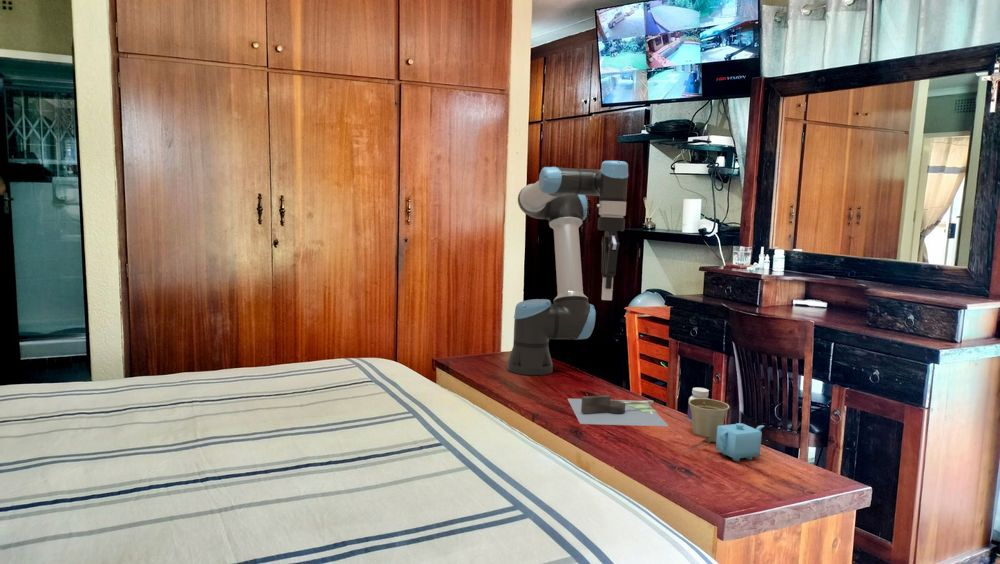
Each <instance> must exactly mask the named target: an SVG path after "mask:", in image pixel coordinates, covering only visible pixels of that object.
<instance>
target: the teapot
mask: <svg viewBox="0 0 1000 564" xmlns="http://www.w3.org/2000/svg"><path fill="white" fill-rule="evenodd" d="M764 427H765V425H763V424H761V425H757V427H756V428H755V427H752V426H749V425H747V424H745V423H743V422H742V423H741V422H738V423H737V422H736V423H734V424H733V423H732V424H723V425H721V426H718V427H717V440H716V442H715V450H717V451H718V452H720V453H721V455H723V456H728V457H730V458H731V459H732V461H733V462H740V460H741V459H744V458H745V459H747V460H750V461H751V460H753V459H754V458H753V457H760V456H761V449H762V448H761V447H762V429H763V428H764Z"/></svg>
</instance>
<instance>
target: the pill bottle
mask: <svg viewBox="0 0 1000 564" xmlns="http://www.w3.org/2000/svg"><path fill="white" fill-rule="evenodd" d="M709 391H710V390H709V389H707V388H704V387H693V388H692V390H691V394H692V395H691V396H689V397H688V401H689V400H691V399H697V398H705V399H710V398H709ZM687 404H688V405H687V418H686V421H687V422H688V423H690V424H692V414H691V409H690V405H689V402H688V403H687Z"/></svg>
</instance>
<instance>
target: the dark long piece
mask: <svg viewBox="0 0 1000 564" xmlns="http://www.w3.org/2000/svg"><path fill="white" fill-rule="evenodd" d="M611 397H612V396H610V395H609V394H607V395H606V394H603V395H590V396H588V395H587V396H581V399H582V405H581V412H582V413H597V412H611V413H624V412H625V405H636V404H649V405H653V404H654V400H651V399H647V400H635V401H633V402H622V401H616V400H617V399H611Z"/></svg>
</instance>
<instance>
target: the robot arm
mask: <svg viewBox="0 0 1000 564" xmlns="http://www.w3.org/2000/svg"><path fill="white" fill-rule="evenodd" d="M629 175H630V174H629V163H628V162H626V161H624V160H623V161H622V160H621V161H620V160H604V161H602V163H601V165H600V169H590V168H589V169H588V168H572V167H571V168H570V167H557V166H544V167H542V169H541V170H540V173H539V176H538V180H537V181H536V182H535V183H529V184H527V185H525V186H524V187H523V188H521V190H519V193H518V196H517V204H518V207H519V208H520V210H521V211H522V212H523V213H524V214H525V215H527V216H529V217H530V218H533V219H538V220H547V221H548V225H549V227H550V228H551V230H552V229H553V239H554V255H555V271H556V286H557V287H556V291H557V295H556V297H554V299H553V303H552V302H551V300H550V299H547V298H545V299H544V298H541V299H539V298H536V299H535V298H534V299H527V300H523V301H520V302H518V303H516V306H515V309H514V316H513V319H514V322H513V345H512V348H511V351H510V354H509V357H508V359H507V362H506V363H507V364H506V369H507V371H509V372H510V373H512V374H513V373H514V374H518V375H525V376H526V375H527V376H543V375H544V376H545V375H548V374H551V373H553V367H554V364H553V361H552V357H551V353H550V348H549V342H550V340H575V341H577V340H586V339H588V338H590V336H591V335H592V334H593V331H594V328H595V324H596V315H597V312H596V309H595V306H594V305H593V304H591V303H589V297H587V296H586V295H585V294H584V290H583V289H584V287H583V273H582V260H581V259H582V257H581V245H580V243H581V242H580V232H579V228H580V227H581V226H582V225H583V221H585V220H586V218H587V217H588V216H587V215H588V200H587V196H594V197H599V199H598V203H597V204H596V207H597V208H598V215H599V217H598V219H597V230H598V231H604V235H603V236H602V237H601V238H602V239H601V243H600V244H601V278H602V283H601V285H602V286H601V301H612V300H613V291H614V289H613V288H614V277H616V274H617V273H616V272H617V265H618V264H617V262H618V255H619V248H620V242H619V241H620V240H619V237H618V232H624V231H625V228H626V226H625V224H626V219H625V216H626V215H627V214H626V213H627V194H628V193H627V192H628V179H629Z"/></svg>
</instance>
